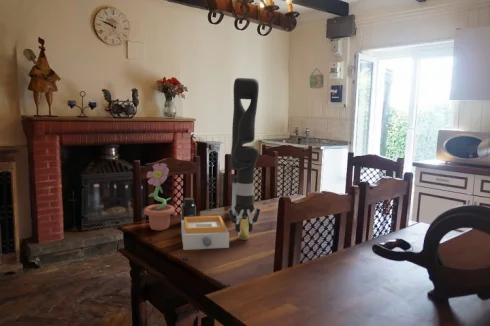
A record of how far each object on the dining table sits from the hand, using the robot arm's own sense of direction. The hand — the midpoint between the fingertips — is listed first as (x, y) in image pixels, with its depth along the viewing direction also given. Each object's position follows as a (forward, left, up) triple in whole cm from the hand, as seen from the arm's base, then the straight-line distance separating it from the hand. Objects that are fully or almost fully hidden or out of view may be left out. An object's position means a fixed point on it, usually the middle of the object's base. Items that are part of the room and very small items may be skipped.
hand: (243, 231), depth 163 cm
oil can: (0, 0, -3) cm, 3 cm away
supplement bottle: (-25, -22, -3) cm, 33 cm away
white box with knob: (+2, -17, -3) cm, 17 cm away
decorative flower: (-19, -36, -3) cm, 41 cm away
